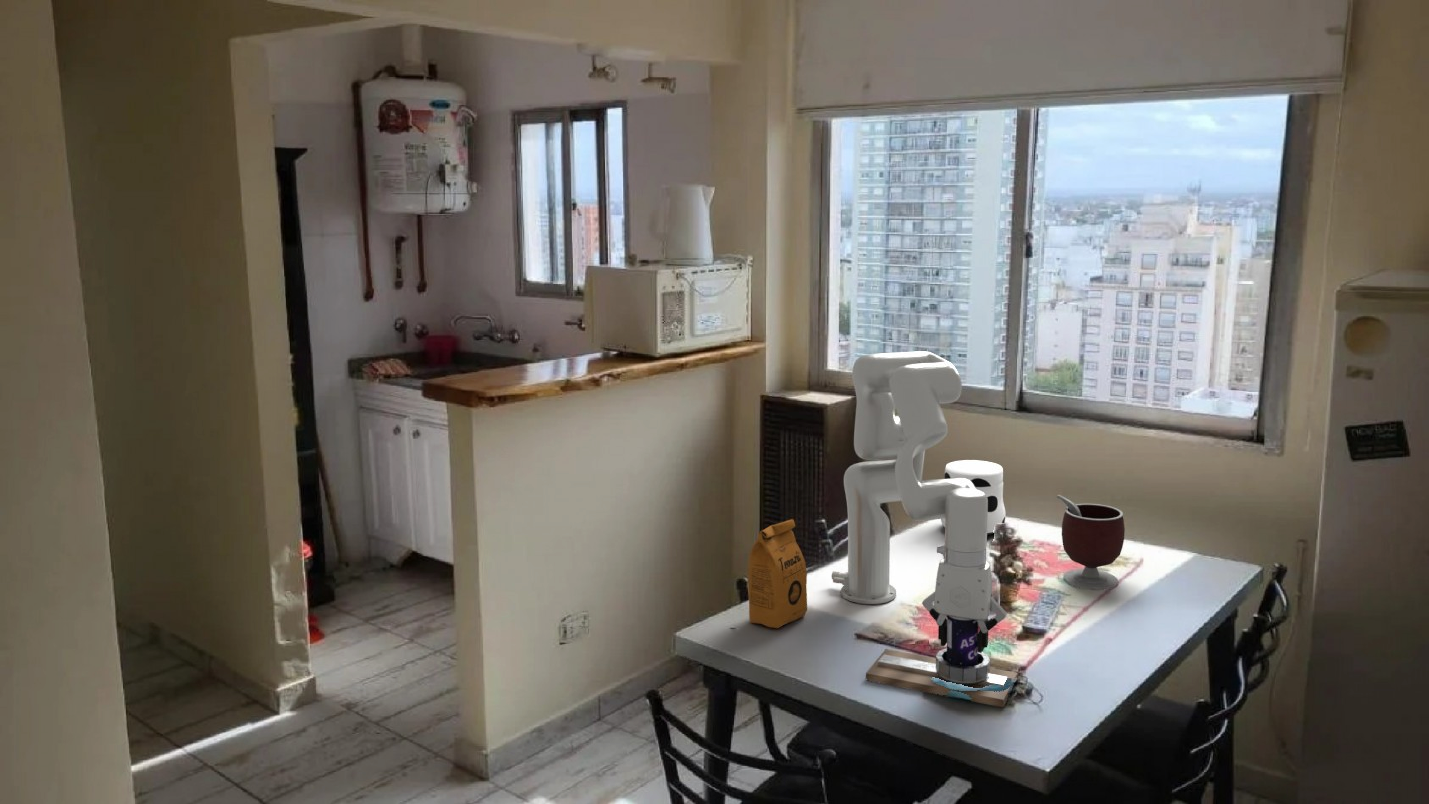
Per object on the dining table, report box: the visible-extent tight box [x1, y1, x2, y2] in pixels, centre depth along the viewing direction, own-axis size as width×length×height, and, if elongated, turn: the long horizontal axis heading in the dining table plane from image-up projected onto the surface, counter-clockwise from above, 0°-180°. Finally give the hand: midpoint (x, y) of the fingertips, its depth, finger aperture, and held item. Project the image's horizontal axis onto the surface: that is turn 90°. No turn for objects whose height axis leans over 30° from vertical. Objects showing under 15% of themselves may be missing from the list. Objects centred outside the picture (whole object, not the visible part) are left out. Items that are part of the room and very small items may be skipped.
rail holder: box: [878, 647, 1007, 687], centre depth 201 cm, size 24×10×4 cm, turn 63°
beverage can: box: [946, 615, 979, 667], centre depth 199 cm, size 6×6×12 cm
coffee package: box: [747, 518, 808, 629], centre depth 230 cm, size 10×12×22 cm
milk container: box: [940, 459, 1007, 536], centre depth 288 cm, size 17×17×18 cm
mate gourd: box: [1056, 494, 1126, 591], centre depth 250 cm, size 16×14×20 cm
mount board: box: [865, 648, 1018, 708], centre depth 202 cm, size 26×12×2 cm, turn 63°
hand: (962, 645), depth 199 cm, fingers open, 6 cm apart
